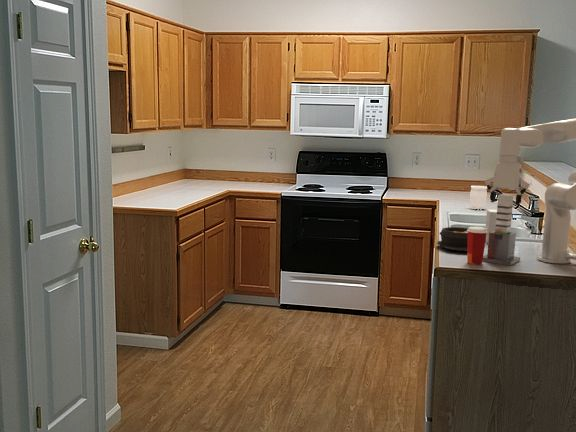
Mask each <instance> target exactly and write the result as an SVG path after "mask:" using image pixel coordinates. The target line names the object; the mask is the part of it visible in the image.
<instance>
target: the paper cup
mask: <svg viewBox="0 0 576 432" xmlns="http://www.w3.org/2000/svg"><path fill="white" fill-rule="evenodd" d="M467 228H468V230H467V231H468V247H467V251H466V252H467V254H466V255H467V256H466V258H467V259H466V261H467V264H469V265H474V266H480V265H481V266H482V264H483V262H484V261H483V256H485V255H484V254H485V247H486V234H487V229H486V227H483V226H482V227H481V226H469V227H467Z"/></svg>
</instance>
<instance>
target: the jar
mask: <svg viewBox="0 0 576 432" xmlns="http://www.w3.org/2000/svg"><path fill="white" fill-rule="evenodd" d="M470 188H471V189H470V192H469V201H470V203H469V204H470V205H471V206H470V209H471V210H473V209H478V210H477V211H480V210H479V209H484V210H485V205H486V203H487V199H488V193H487V192H488V191H487V190H488V188H487V185H479V184H478V185H471V186H470Z"/></svg>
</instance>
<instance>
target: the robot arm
mask: <svg viewBox="0 0 576 432" xmlns="http://www.w3.org/2000/svg"><path fill="white" fill-rule="evenodd" d="M500 133H501V134H500V141H499V143H500V144H499V157H498V162H497V163H496V166H495V169H494V173H493V177H491V178H488V179H485V180H484V183H485V186H487V190H488V191H489V192H490V196H489V197H490V198H489V200H490V203H496V201H497V200H496V199H497V198H496V197H497V192H496V191H497V189H503V190H514V191H515V192H516V195H515V205H516V206H519V205H520V204H522V196H523V194H525V193H526V192H527V191H528V189H529V188H530V187H531V184H530V183H529V182H527V181H525V180H523V170H522V164H520V163H521V162H523V161H524V158H523V157H521V155H520V154H521V148H527V149H528V148H529V149H535V148H537V147H539V146H541V145H542V144H545V143H547V144H549V143H550V144H551V143H552V144H553V143H554V144H559V143H560V144H561V143H567V142H572V141H576V118H571V119H565V120H559V121H553V122H552V121H551V122H547V123H541V124H535V125H534V124H533V125H530V126H529V125H528V126H524V127H523V126H522V127H518V128H513V127H505V128H503V129H501V131H500ZM491 182H492V184H491ZM523 185H524V186H523ZM522 186H523V188H522ZM521 188H522V189H521ZM544 204H545V207H544V208H545V215H544V225H543V236H542V243H541V244H542V245H541V254H538V255H537V256H536V259H537V260H538V261H541V262H544V263H549V264H557V265H558V264H559V265H560V264H561V265H562V264H564V265H566V264H570V263H571V260H574V261H576V254H575V253H574V254H572V253H571V252H570V250H568V248H569V239H570V230H571V220H572V218H571V216H572V215H571V211H576V169H574V170H573V171H571V173H570V174H569V176H568V179H567V183H563V182H556V183H554V182H553V183H552V184H550V185H548V187H547V188H546V190H545V192H544Z"/></svg>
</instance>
